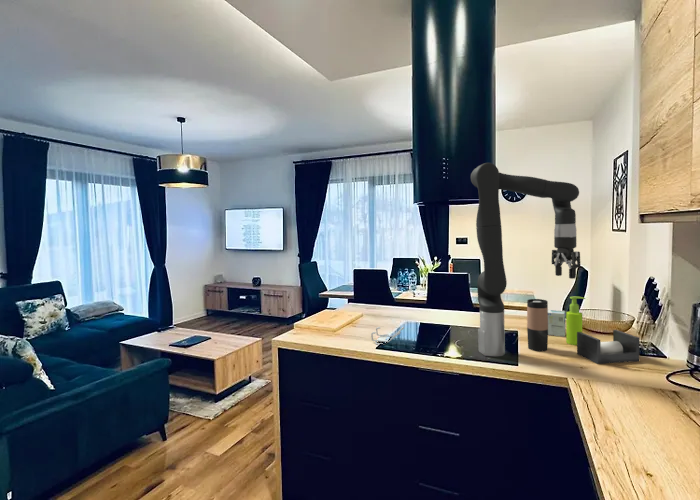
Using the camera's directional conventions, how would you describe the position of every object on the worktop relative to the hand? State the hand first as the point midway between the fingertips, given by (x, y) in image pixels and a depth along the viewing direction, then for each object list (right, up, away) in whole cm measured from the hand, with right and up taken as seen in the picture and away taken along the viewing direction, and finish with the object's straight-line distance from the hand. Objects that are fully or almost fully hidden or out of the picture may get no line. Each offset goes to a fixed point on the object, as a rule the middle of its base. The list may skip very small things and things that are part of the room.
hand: (565, 277), depth 148 cm
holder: (+13, -30, -6) cm, 33 cm away
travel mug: (-7, -30, +7) cm, 32 cm away
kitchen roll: (+12, -27, -6) cm, 30 cm away
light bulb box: (+9, -29, +27) cm, 41 cm away
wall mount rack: (-67, -32, +26) cm, 78 cm away
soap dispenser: (+11, -29, +12) cm, 34 cm away
